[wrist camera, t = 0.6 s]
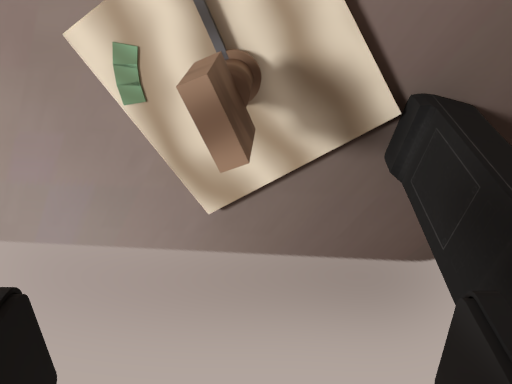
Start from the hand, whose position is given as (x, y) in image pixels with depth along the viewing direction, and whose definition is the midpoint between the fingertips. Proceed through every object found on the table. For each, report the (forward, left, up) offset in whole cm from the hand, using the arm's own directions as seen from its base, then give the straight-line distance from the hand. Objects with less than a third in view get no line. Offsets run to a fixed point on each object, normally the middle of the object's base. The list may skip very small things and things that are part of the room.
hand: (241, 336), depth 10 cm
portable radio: (-7, +14, -30) cm, 34 cm away
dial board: (+4, 0, -30) cm, 30 cm away
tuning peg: (+4, -3, -28) cm, 28 cm away
